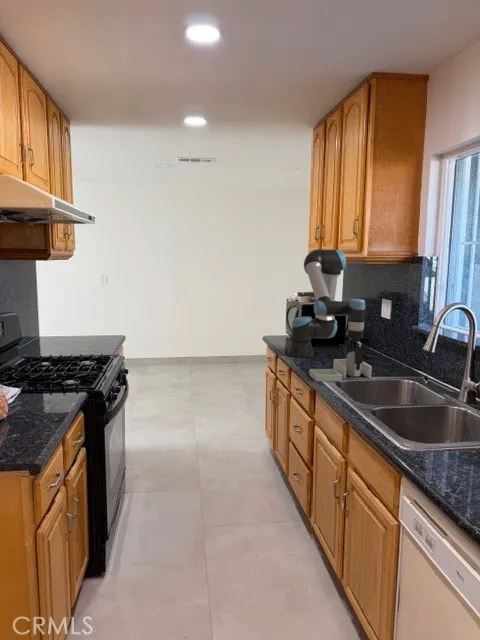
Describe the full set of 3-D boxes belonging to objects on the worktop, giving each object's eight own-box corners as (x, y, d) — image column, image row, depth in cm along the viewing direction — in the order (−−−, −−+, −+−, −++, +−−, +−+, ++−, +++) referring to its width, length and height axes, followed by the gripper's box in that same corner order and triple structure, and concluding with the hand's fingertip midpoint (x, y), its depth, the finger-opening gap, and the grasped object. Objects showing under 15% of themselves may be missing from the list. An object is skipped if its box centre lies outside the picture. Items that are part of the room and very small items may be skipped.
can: (361, 377, 237) (362, 354, 236) (345, 376, 239) (347, 353, 237) (360, 374, 245) (361, 351, 243) (345, 373, 246) (346, 350, 245)
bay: (333, 370, 252) (333, 359, 251) (358, 370, 254) (359, 359, 253) (344, 378, 235) (344, 366, 234) (370, 378, 237) (371, 366, 236)
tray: (308, 374, 241) (309, 369, 241) (333, 374, 243) (333, 369, 243) (316, 381, 229) (316, 375, 228) (342, 381, 230) (342, 375, 230)
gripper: (341, 326, 249) (339, 368, 252) (356, 333, 227) (353, 379, 230) (355, 326, 250) (352, 368, 253) (371, 333, 228) (368, 379, 231)
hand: (353, 373), depth 242 cm, fingers open, 9 cm apart
